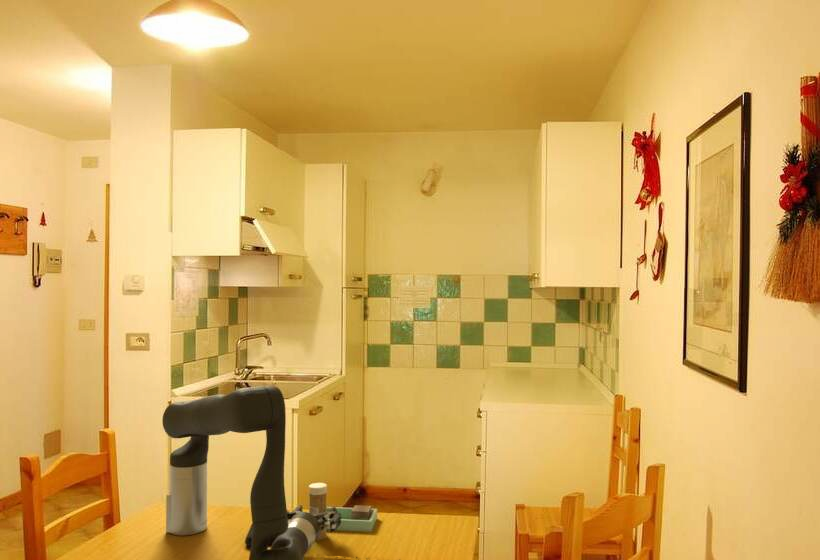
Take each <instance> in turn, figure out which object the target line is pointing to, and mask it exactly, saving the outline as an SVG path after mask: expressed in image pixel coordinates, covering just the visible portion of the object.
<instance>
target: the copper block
mask: <svg viewBox="0 0 820 560" xmlns="http://www.w3.org/2000/svg"><path fill="white" fill-rule="evenodd" d="M352 508H353V509H352V511H351V520H369V519H370V517H371V509H372V505H356V504H355V505H354V506H353V507H352Z"/></svg>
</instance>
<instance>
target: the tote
mask: <svg viewBox="0 0 820 560" xmlns="http://www.w3.org/2000/svg"><path fill="white" fill-rule="evenodd" d="M326 507H327V513H328V512H329V511H330V510H331V509H332V507H333V506H326ZM335 507H336V506H335ZM336 509H337V513H341V524H340V525H339V527H338V528H337V529H336V531H342V532H344V531H345V532H362V533H363V532H364V533H365V532H367V533H371V532H372V531H373V529H374V526H375V524H376V523H377V520H378V508H371V517H370V519H369V520H351V511H352V509H353V507H342V506H341V507H336ZM328 520H329V516H328ZM326 531H330V528H326Z"/></svg>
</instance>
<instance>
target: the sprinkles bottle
mask: <svg viewBox="0 0 820 560" xmlns="http://www.w3.org/2000/svg"><path fill="white" fill-rule="evenodd" d="M327 493H328V485H327V484H326V482H325V483H324V482H314V483H311V484H309V485H308V494H309V501H308V502H309V503H308V511H309V512H308V513H310V514H318V513H321V512H325V513H327V507H328V506H327ZM321 518H322V517H321ZM327 537H328V535H327V530H326V528H324V529H323V530H321V531H320V533H319V536H318V537H317V539H316V540H315V541H319V540H320V541H321V540H324V539H326V538H327Z"/></svg>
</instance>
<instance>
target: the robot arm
mask: <svg viewBox="0 0 820 560" xmlns="http://www.w3.org/2000/svg"><path fill="white" fill-rule="evenodd" d="M283 394H284V393H283V392H282V391H281V389H280V388H279V387H278V386H275V385H261V386H251V387H242V388H238V389H236V390H233V391H231V392H229V393H228V394H223V393H222V394H219V393H218V394H212V395H209V396H204V397H201V398H199V399H194V400H184V401H175V402H172V403H170V404H168V406H167V407H166V408H165V410H164V411H163V415H162V427H163V430H164V432H165V433H166V435H167V436H168V437H170V438H172V439H184V438H189V440H188V441H187V442H186V443H185V444H184V445H182V446H181V447H177V448H176V449H175V450H173V451H172V452H171V453H170V455H169V493H168V494H166V496H165V497H166V502H165V503H166V505H165V510H166V511H165V532H166V533H168V534H169V533H170V534H172V535H175V536H191V535H197V534H200V533H202V532H203V531H205V530H206V529H207V527H208V453H209V447H210V445H209V444H210V443H209V441H210V436H219V435H225V434H227V433H229V432H232V433H239V434H247V433H248V434H249V433H255V432H256V433H257V432H262V431H265V435H266V443H265V450H264V454H263V458H262V460H261V463H260V465H259V467H258V470H257V473H256V475H255V477H254V480H253V482H252V485H251V490H250V497H249V498H250V500H249V501H250V503H249V505H250V513H251V522H252V523H251V525H253V534H252V543H251V548H250V552H249V558H248V560H303V558H304V557H305V555H306V554H307V553H308V552H309V550H310V549H312V547H313V545H314V544H315V542H316V541H317V540H316V539H317V537H318V536H319V533H320V531H321V530H323V529H324V528H330V530H329V531H330V533H334V532H336V531H337V530H336V529H337V528H338V527H339V525H340V524H341V513H337V509H336V506H331V507H332V509H331V510H330V511H329V512H328V513H325V512H321V513H318V514H310V513H309V512H306V511H303V505H298V506H297V507H295V508H294V509H292V510H291V511H290V510H288V508H287V501H286V493H285V492H286V490H285V455H286V420H287V419H286V418H287V417H286V414H287V413H286V402H285V398H284V395H283ZM328 516H329V520H328ZM321 517H322V518H321ZM276 536H278V537H277V538H276V539H275V541H274V542H273V544H272V546H271V547H270V549H269V548H268V542H269V540H270V539H271V538H273V537H276Z"/></svg>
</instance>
